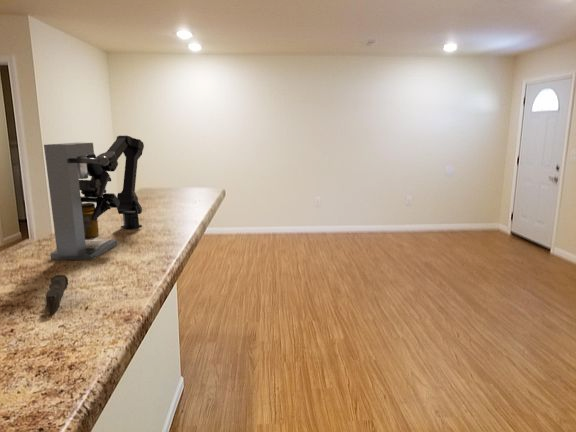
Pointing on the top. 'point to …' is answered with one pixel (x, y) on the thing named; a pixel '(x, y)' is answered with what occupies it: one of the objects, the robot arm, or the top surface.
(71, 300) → the top surface
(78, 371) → the top surface
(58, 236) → the coffee machine
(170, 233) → the top surface
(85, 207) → the condiment
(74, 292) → the top surface
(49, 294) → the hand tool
